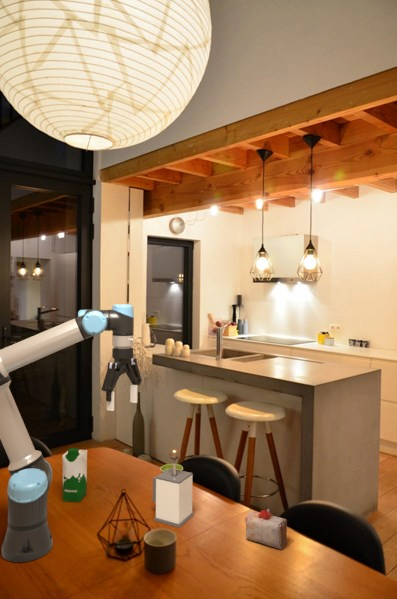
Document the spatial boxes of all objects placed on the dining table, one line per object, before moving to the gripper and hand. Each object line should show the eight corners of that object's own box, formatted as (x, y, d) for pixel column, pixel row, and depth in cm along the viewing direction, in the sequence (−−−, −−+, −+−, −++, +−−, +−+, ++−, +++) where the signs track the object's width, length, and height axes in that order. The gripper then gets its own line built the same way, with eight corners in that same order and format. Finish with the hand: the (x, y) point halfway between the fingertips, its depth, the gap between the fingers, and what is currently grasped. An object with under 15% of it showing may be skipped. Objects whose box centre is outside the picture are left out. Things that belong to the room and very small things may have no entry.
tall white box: (179, 527, 159) (179, 482, 159) (145, 518, 166) (145, 475, 166) (193, 515, 169) (193, 472, 168) (161, 506, 175) (161, 465, 175)
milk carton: (59, 502, 178) (60, 450, 178) (68, 492, 187) (68, 443, 187) (81, 503, 177) (81, 451, 177) (89, 493, 186) (89, 444, 186)
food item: (241, 540, 152) (241, 511, 151) (251, 530, 158) (251, 501, 158) (280, 552, 145) (281, 521, 145) (289, 541, 152) (289, 511, 151)
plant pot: (180, 494, 186) (180, 473, 186) (157, 492, 188) (157, 471, 188) (184, 484, 195) (184, 464, 195) (163, 483, 197) (163, 463, 197)
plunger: (177, 510, 162) (178, 453, 162) (160, 505, 165) (161, 450, 165) (187, 502, 168) (187, 447, 168) (171, 498, 171) (171, 444, 171)
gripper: (108, 351, 152) (108, 415, 152) (151, 344, 174) (150, 400, 174) (91, 350, 155) (90, 412, 156) (135, 343, 177) (134, 398, 178)
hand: (122, 406), depth 165 cm, fingers open, 13 cm apart
